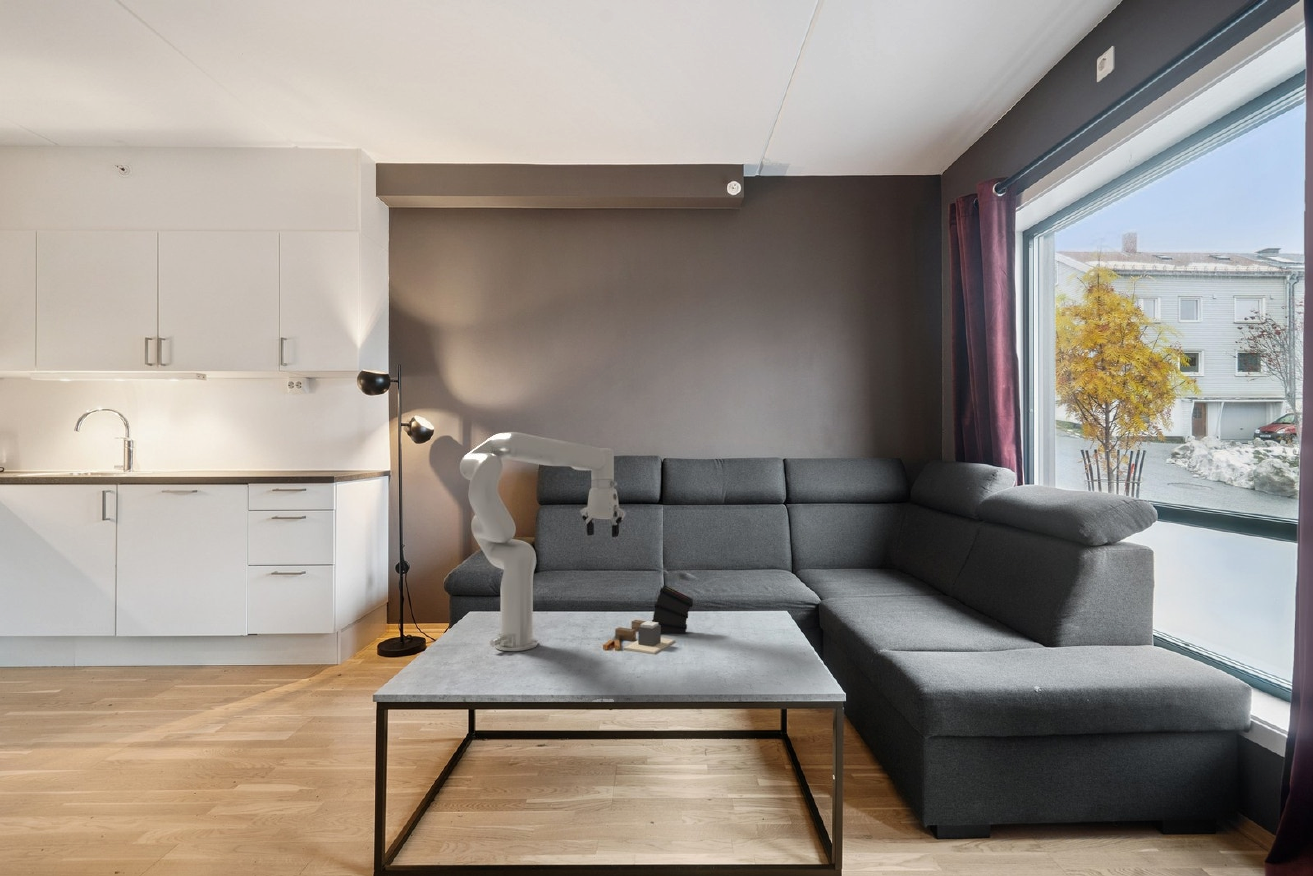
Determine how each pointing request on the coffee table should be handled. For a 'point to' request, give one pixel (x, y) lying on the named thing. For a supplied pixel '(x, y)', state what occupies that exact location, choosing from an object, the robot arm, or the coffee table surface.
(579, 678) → the coffee table surface
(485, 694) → the coffee table surface
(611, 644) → the cutter
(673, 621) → the black layered block
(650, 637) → the grey box
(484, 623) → the coffee table surface
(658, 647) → the mat
